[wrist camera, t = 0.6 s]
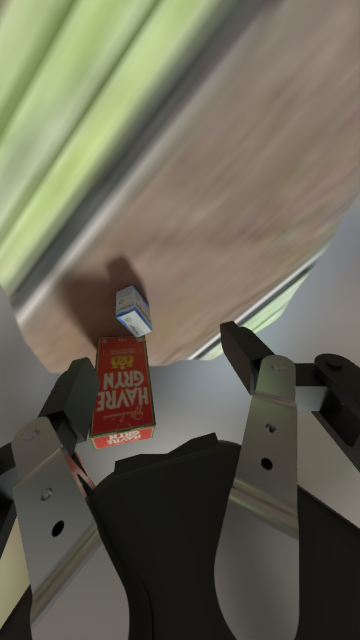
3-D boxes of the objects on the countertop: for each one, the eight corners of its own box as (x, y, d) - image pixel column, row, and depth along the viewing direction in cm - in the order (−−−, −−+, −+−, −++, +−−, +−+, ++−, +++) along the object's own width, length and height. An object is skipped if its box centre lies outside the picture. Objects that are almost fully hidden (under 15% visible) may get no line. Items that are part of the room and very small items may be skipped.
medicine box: (149, 306, 49) (153, 331, 43) (133, 313, 50) (136, 339, 44) (132, 283, 43) (135, 309, 38) (115, 291, 44) (115, 318, 38)
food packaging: (145, 334, 56) (157, 426, 40) (144, 353, 63) (153, 439, 46) (96, 336, 53) (86, 439, 36) (100, 356, 59) (93, 451, 42)
